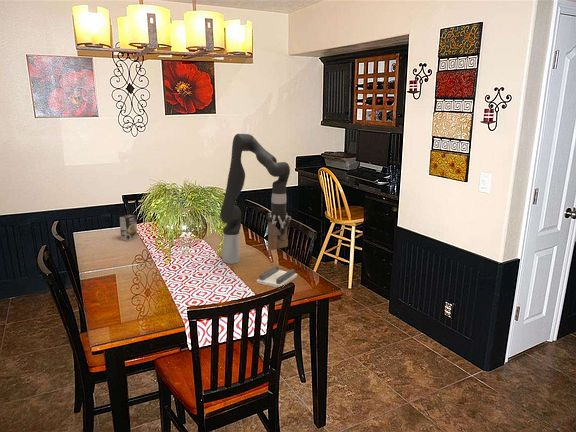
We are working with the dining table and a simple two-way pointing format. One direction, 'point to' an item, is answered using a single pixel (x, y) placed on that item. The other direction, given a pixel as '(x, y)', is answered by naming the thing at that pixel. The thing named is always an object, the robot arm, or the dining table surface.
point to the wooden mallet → (273, 235)
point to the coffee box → (128, 227)
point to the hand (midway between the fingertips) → (278, 233)
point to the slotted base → (276, 277)
